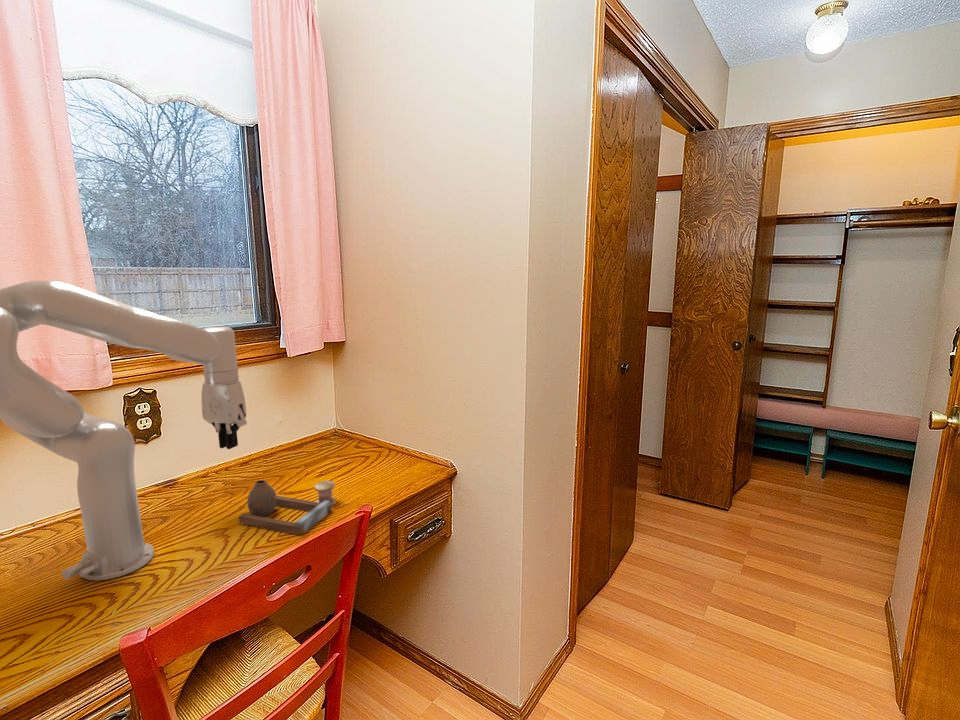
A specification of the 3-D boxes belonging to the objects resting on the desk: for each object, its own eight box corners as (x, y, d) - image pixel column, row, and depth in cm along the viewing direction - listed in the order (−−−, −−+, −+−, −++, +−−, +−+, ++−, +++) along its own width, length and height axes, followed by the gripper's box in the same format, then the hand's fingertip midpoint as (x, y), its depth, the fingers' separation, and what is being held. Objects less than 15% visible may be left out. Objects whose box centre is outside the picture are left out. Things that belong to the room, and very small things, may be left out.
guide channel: (300, 535, 115) (300, 523, 115) (239, 523, 121) (238, 512, 120) (331, 511, 127) (330, 500, 126) (273, 502, 132) (272, 491, 131)
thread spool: (328, 509, 128) (327, 489, 127) (312, 506, 129) (310, 487, 128) (339, 500, 133) (338, 482, 132) (323, 498, 134) (322, 479, 133)
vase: (242, 517, 124) (239, 485, 122) (263, 505, 130) (260, 474, 129) (264, 522, 121) (260, 489, 120) (283, 509, 128) (281, 478, 126)
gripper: (184, 377, 121) (192, 448, 124) (235, 381, 116) (242, 455, 120) (209, 371, 128) (216, 439, 131) (258, 375, 123) (264, 445, 127)
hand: (228, 446), depth 125 cm, fingers closed
